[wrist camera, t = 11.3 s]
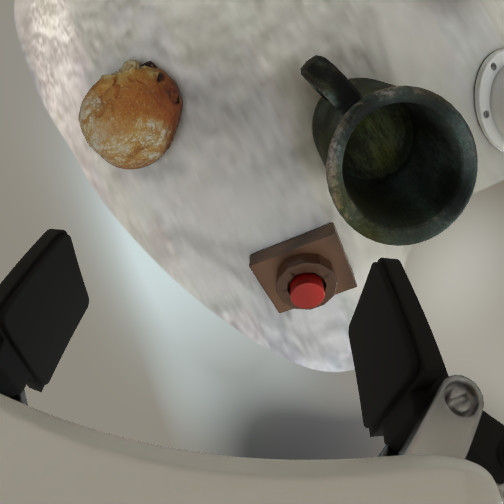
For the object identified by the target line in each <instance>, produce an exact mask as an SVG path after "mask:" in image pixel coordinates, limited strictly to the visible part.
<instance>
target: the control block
mask: <svg viewBox="0 0 504 504" xmlns="http://www.w3.org/2000/svg"><path fill="white" fill-rule="evenodd" d="M249 267H250V268H251V270H252V272H253V273H254V275H255V276H256V278H257V279H258V281H259V282H260V284H261V285H262V287H263V289H264V290H265V292H266V293H267V295H268V296H269V298H270V299H271V301H272V303H273V304H274V306H275V307H276V309H277V310H278V312H279V313H282V312H285V311H288V310H291V309H294V308H295V309H313V308H316V307H319V306H322V305H324V304H325V303H326V302H328V301H329V300H330V299H331V298H332V297H333V296H334V295H335V294H338V293H341V292H343V291H346V290H349V289H352V288H355V287H357V284H356V281H355V277H354V274H353V271H352V269H351V266H350V264H349V261H348V259H347V256H346V253H345V251H344V248H343V246H342V243H341V241H340V239H339V236H338V234H337V231H336V229H335V226H334V224H333V223H330V224H328V225H325V226H323V227H320V228H318V229H315V230H313V231H310V232H308V233H305V234H302V235H300V236H297V237H295V238H292V239H290V240H287V241H285V242H282V243H279V244H277V245H274V246H272V247H269V248H267V249H264V250H262V251H259V252H256V253H254V254H251V255H250V264H249ZM302 273H313V274H316V275H318V276H319V277H320V278H321V279H322V281H323V286H324V292H325V297H324V299H323V301H322V302H321V303H320V304H319V305H318V306H316V307H313V308H300V307H297V306H296V305H294V304H293V302H292V301H291V297H290V283H291V281H292V280H293V279H294V278H295V277H296V276H297V275H300V274H302Z"/></svg>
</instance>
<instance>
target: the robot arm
mask: <svg viewBox="0 0 504 504" xmlns="http://www.w3.org/2000/svg"><path fill="white" fill-rule="evenodd" d="M475 108H476V113H477V118H478V121H479V124H480V127H481V129H482V131H483V133H484V135H485V136H486V137H487V139H488V140H489V142H490V143H491V144H492V145H494V146H495V147H496V148H497V149H499V150H500V151H502V152H504V49H499V50H497V51H495V52H493V53H491V54H490V55H489V56H488V57H487V58H486V59H485V61H484V62H483V64H482V65H481V68H480V70H479V73H478V75H477V80H476V84H475ZM88 304H89V297H88V294H87V291H86V288H85V285H84V282H83V278H82V275H81V272H80V269H79V265H78V262H77V258H76V255H75V251H74V247H73V244H72V240H71V237H70V236H69V235H68V234H67V232H66V231H64V230H57V229H49V230H47V231H46V232H45V233H44V234H43V235H42V237H40V239H39V240H38V241H37V242H36V243H35V244H34V245H33V246H32V247H31V248H30V250H29V251H28V252H27V253H26V254H25V255H24V256H23V258H22V259H21V260H20V261H19V262H18V263H17V264H16V266H15V267H14V268H13V269H12V270H11V272H10V273H9V274H8V275H7V276H6V278H5V279H4V280H3V281H2V283H1V284H0V504H504V425H503V424H501V423H500V422H498V421H497V420H496V419H494V418H493V417H491V416H490V415H488V414H487V413H486V412H484V411H483V406H484V401H483V395H482V393H481V391H480V389H479V387H478V386H477V385H476V384H475V383H474V382H473V381H472V380H470V379H469V378H467V377H464V376H461V375H453V376H448V374H447V371H446V368H445V365H444V363H443V360H442V357H441V354H440V352H439V349H438V346H437V344H436V342H435V339H434V336H433V334H432V331H431V329H430V326H429V324H428V322H427V319H426V317H425V314H424V312H423V310H422V308H421V305H420V303H419V301H418V299H417V296H416V294H415V292H414V290H413V288H412V285H411V283H410V281H409V279H408V277H407V275H406V273H405V271H404V268H403V266H402V264H401V262H400V261H399V260H398V259H389V258H380V259H379V260H378V262H374V263H373V264H372V266H371V269H370V271H369V274H368V277H367V280H366V283H365V286H364V288H363V291H362V294H361V296H360V299H359V302H358V304H357V307H356V310H355V312H354V315H353V317H352V320H351V322H350V325H349V339H350V344H351V350H352V355H353V361H354V366H355V372H356V378H357V384H358V390H359V396H360V402H361V410H362V416H363V423H364V426H365V427H366V428H369V431H370V437H374V436H384V442H385V444H386V445H385V447H384V448H383V450H382V451H381V453H380V454H379V456H378V457H371V458H359V459H358V458H357V459H337V460H336V459H335V460H278V459H258V458H244V457H233V456H224V455H214V454H207V453H200V452H193V451H186V450H181V449H174V448H169V447H164V446H159V445H154V444H149V443H144V442H140V441H136V440H132V439H127V438H124V437H120V436H116V435H112V434H108V433H105V432H101V431H98V430H95V429H91V428H88V427H85V426H82V425H78V424H76V423H73V422H70V421H67V420H64V419H61V418H58V417H55V416H53V415H50V414H47V413H45V412H42V411H40V410H37V409H35V408H32V407H29V406H28V403H27V398H26V394H25V390H24V388H25V386H26V384H27V385H28V386H29V388H32V389H34V390H37V391H39V392H42V389H43V387H44V385H46V384H48V383H49V381H50V379H51V377H52V375H53V373H54V371H55V369H56V367H57V365H58V363H59V360H60V359H61V356H62V354H63V353H64V350H65V348H66V347H67V345H68V343H69V341H70V338H71V337H72V335H73V333H74V331H75V329H76V328H77V326H78V324H79V322H80V320H81V318H82V317H83V315H84V313H85V311H86V309H87V307H88Z"/></svg>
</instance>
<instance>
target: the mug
mask: <svg viewBox="0 0 504 504" xmlns="http://www.w3.org/2000/svg"><path fill="white" fill-rule="evenodd" d="M301 75H302V76H303V77H304V78H305V79H306V80H307V81H308V83H309V84H310V85H311V86H312V87H313V88H314V89H315V90H316V91H317V92H318V93H319V94H320V95H321V96H322V98H321V99H320V101H319V102H318V105H317V107H316V109H315V112H314V116H313V124H312V130H313V137H314V142H315V145H316V147H317V149H318V152H319V154H320V156H321V158H322V161H323V163H324V165H325V167H326V174H327V183H328V188H329V192H330V195H331V197H332V200H333V203H334V205H335V206H336V208H337V210H338V212H339V213H340V215H341V216H342V217H343V218H344V220H345V221H346V222H347V223H348V224H349V225H350V226H351V227H352V228H353V229H354V230H356V231H357V232H358V233H360V234H362V235H363V236H365V237H366V238H369V239H371V240H373V241H376V242H379V243H383V244H387V245H397V246H398V245H411V244H416V243H419V242H423V241H426V240H428V239H430V238H432V237H434V236H436V235H438V234H439V233H441V232H442V231H444V230H445V229H447V228H448V227H449V226H450V225H451V224H452V223H453V222H454V221H455V220H456V219H457V218H458V217H459V215H460V214H461V213H462V212H463V210H464V208H465V207H466V205H467V204H468V201H469V199H470V197H471V195H472V193H473V189H474V186H475V182H476V177H477V162H478V160H477V151H476V145H475V142H474V138H473V135H472V133H471V131H470V129H469V127H468V124H467V123H466V121H465V120H464V118H463V117H462V115H461V114H460V113H459V112H458V111H457V110H456V109H455V107H454V106H453V105H452V104H451V103H449V102H448V101H447V100H445V99H444V98H443V97H441V96H439V95H437V94H435V93H433V92H431V91H429V90H426V89H422V88H419V87H412V86H394V85H390V84H387V83H384V82H380V81H377V80H373V79H368V78H354V79H349V80H348V79H347V78H346V77H345V76H344V75H343V74H342V73H341V72H340V71H339V70H338V69H337V68H336V67H335V66H334V65H333V64H332V63H331V62H330V61H328V60H327V59H326V58H324V57H322V56H317V55H315V56H314V57H312V58H311V59H309V60H308V61H307V62H306V63H305V64H304V65H303V66H302V67H301Z"/></svg>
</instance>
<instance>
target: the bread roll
mask: <svg viewBox="0 0 504 504" xmlns="http://www.w3.org/2000/svg"><path fill="white" fill-rule="evenodd" d="M181 110H182V100H181V97H180V95H179V91H178V87H177V85H176V84H175V82H174V81H173V80H172V79H171V78H170V77H169V76H168V75H167V74H166V73H165V72H164V71H163V70H161V69H159V68H157V67H156V66H155V65H154V63H153V62H152V61H148V62H146V63H144V64H142V65H141V66H140V65H139V63H138V61H137V60H135V61H134V60H129V61H127V62H125V63H124V65H123V67H122V68H121V69H120V70H119V71H118V72H115V73H113V74H112V75H102V76H101V79H100V80H99V81H98V82H97V83H96V84H95V85H93V86H92V88H91V89H90V90H89V92H88V93H87V95H86V96H85V98H84V100H83V101H82V104H81V108H80V112H79V122H80V126H81V129H82V132H83V134H84V136H85V139H86V141H87V143H88V144H89V146H90V147H92V148H93V149H94V151H96V152H97V153H98V154H100V155H101V157H102V158H103V159H105V160H106V161H107V162H108V163H110V164H112V165H114V166H116V167H119V168H123V169H138V168H142V167H145V166H148V165H150V164H152V163H154V162H155V161H157V160H158V159H159V158H160V157H162V156H163V154H164V153H165V152H166V150H167V149H168V148H169V146H170V144H171V142H172V140H173V136H174V134H175V132H176V128H177V127H178V123H179V120H180V114H181Z"/></svg>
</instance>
